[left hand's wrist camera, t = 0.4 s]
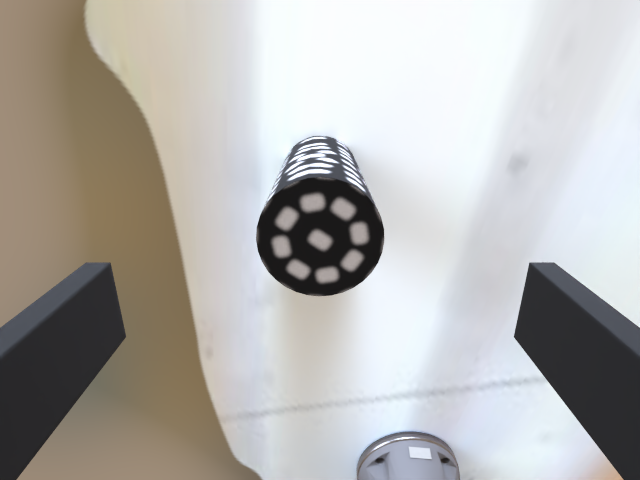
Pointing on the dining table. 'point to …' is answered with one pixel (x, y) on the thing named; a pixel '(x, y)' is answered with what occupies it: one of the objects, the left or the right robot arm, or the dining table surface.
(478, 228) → the dining table surface
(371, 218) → the black white spotted cylinder
